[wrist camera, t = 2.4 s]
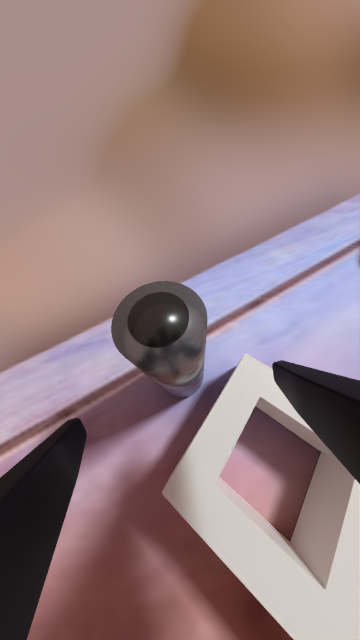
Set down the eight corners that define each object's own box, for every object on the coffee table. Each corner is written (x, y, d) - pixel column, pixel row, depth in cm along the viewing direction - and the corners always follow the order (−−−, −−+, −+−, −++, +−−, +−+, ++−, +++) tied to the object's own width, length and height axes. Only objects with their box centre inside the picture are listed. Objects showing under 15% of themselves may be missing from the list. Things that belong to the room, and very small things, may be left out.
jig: (315, 624, 11) (370, 724, 7) (170, 475, 15) (161, 493, 11) (362, 445, 14) (414, 454, 11) (237, 365, 18) (245, 353, 15)
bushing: (186, 407, 17) (164, 389, 6) (152, 379, 19) (90, 328, 8) (211, 369, 19) (226, 305, 8) (177, 346, 20) (153, 267, 10)
